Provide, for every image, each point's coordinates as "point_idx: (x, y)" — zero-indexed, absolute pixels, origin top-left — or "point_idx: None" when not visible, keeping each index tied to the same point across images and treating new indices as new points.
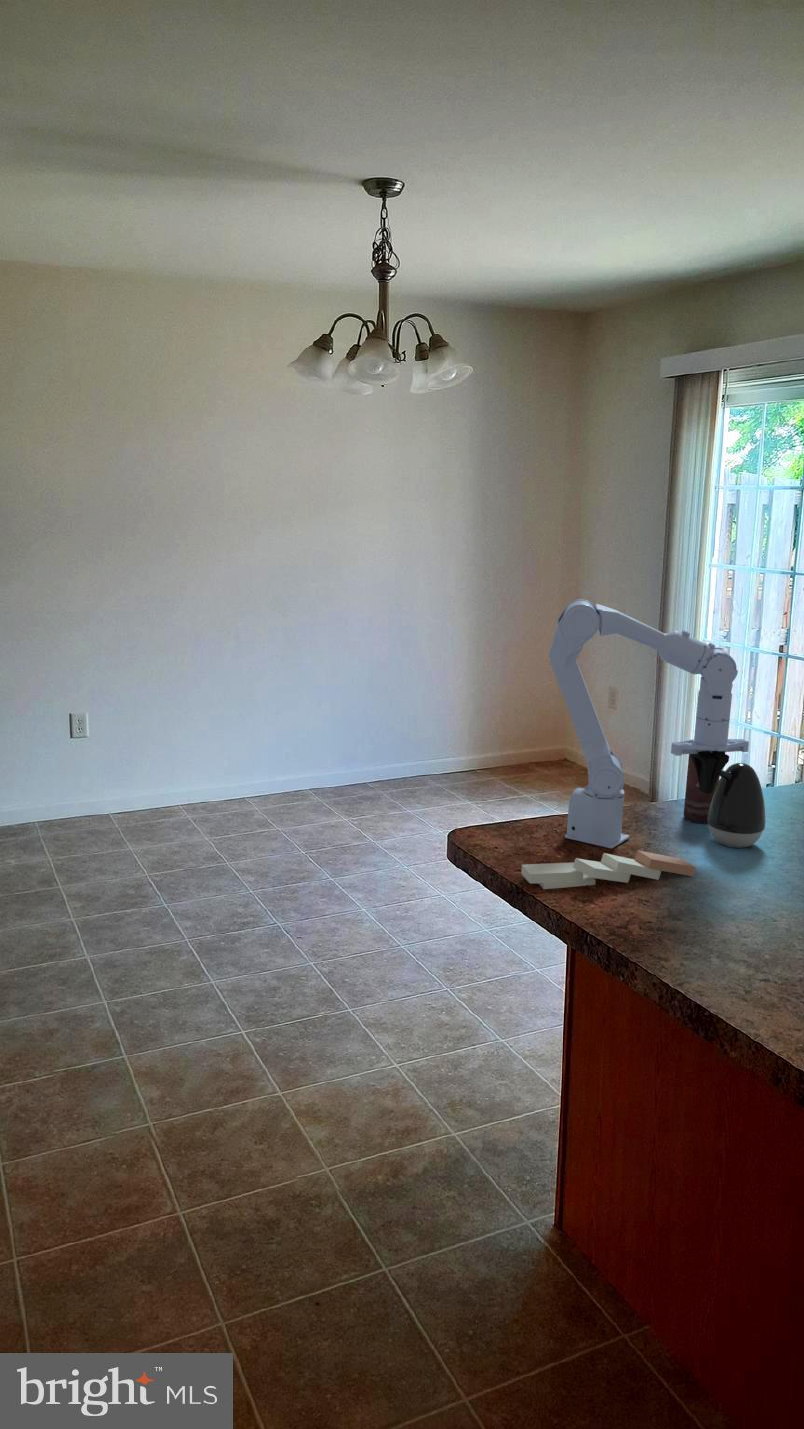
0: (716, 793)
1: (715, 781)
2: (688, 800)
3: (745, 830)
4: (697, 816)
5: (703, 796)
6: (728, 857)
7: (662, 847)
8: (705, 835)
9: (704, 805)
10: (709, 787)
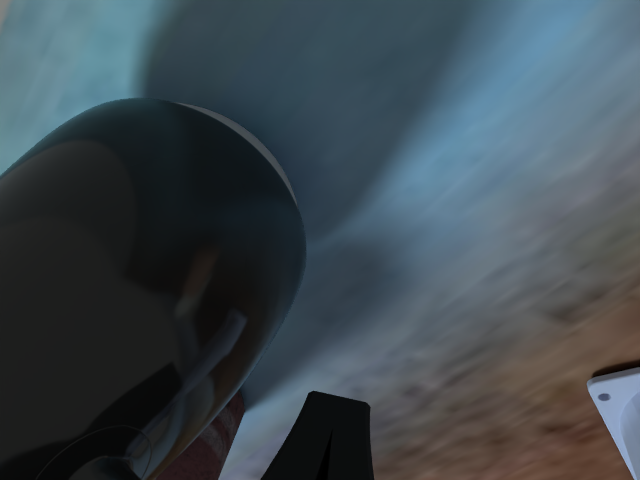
0: (222, 399)
1: (278, 473)
2: (220, 461)
3: (194, 116)
4: None
5: None
6: (352, 50)
7: (546, 264)
8: None
9: None
10: (342, 438)
